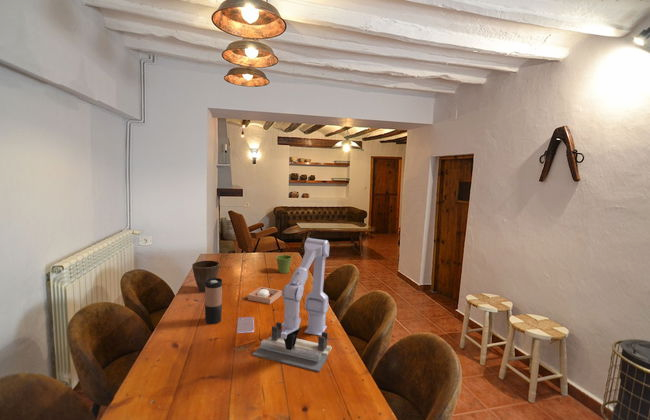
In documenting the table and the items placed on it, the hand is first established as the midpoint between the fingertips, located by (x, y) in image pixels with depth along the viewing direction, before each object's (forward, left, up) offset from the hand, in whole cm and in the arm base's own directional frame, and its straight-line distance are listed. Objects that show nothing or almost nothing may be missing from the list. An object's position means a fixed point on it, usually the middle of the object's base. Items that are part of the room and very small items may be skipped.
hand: (290, 347), depth 127 cm
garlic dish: (-49, -38, -4) cm, 62 cm away
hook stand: (-9, 0, -4) cm, 10 cm away
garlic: (-51, -40, -4) cm, 65 cm away
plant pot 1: (-44, -75, -4) cm, 87 cm away
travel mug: (-13, -46, -4) cm, 48 cm away
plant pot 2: (-97, -49, -4) cm, 109 cm away
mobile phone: (-16, -30, -4) cm, 34 cm away
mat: (0, 0, -4) cm, 4 cm away
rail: (0, 0, -2) cm, 2 cm away
